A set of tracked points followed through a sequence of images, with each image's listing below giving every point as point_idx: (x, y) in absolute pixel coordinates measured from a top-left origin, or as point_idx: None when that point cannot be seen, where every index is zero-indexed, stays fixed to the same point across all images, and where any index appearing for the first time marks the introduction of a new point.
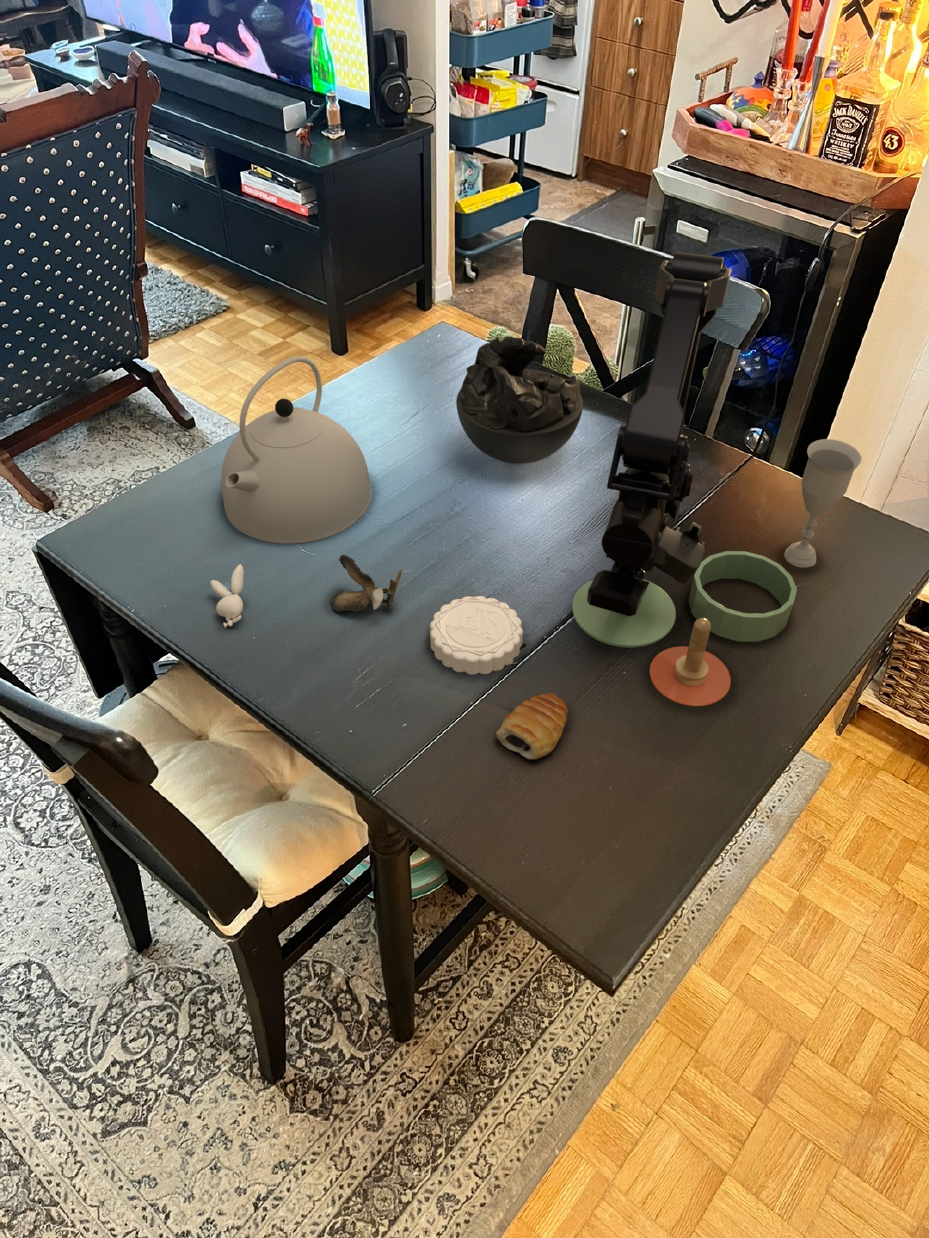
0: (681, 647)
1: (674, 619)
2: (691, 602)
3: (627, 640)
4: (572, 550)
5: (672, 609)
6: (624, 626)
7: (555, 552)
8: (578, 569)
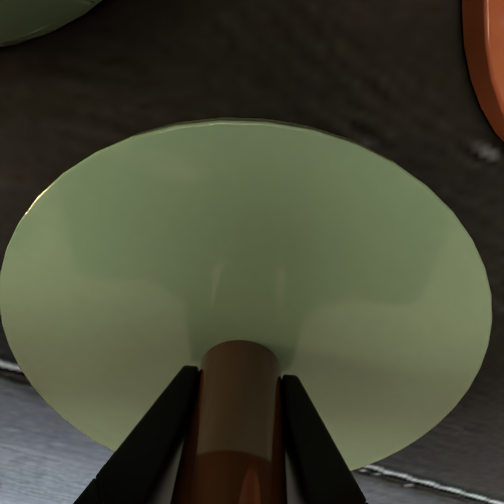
0: (499, 20)
1: (236, 126)
2: (8, 20)
3: (457, 331)
4: (21, 476)
5: (145, 155)
6: (361, 353)
7: (59, 500)
8: (89, 460)
